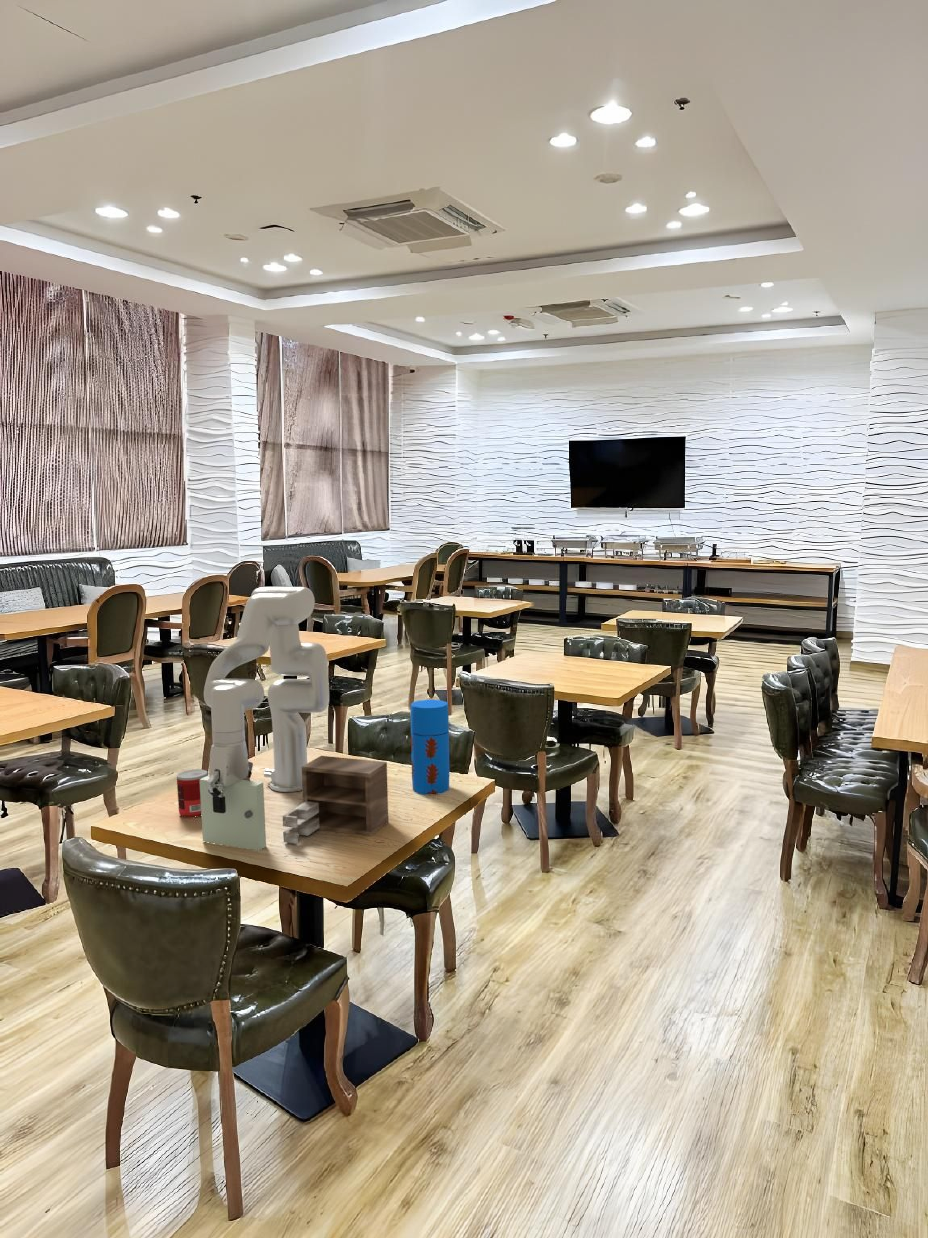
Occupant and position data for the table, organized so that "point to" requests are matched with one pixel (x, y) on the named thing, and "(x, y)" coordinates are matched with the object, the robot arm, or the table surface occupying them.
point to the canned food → (190, 792)
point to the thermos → (430, 746)
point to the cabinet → (340, 798)
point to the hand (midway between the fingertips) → (231, 806)
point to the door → (235, 815)
